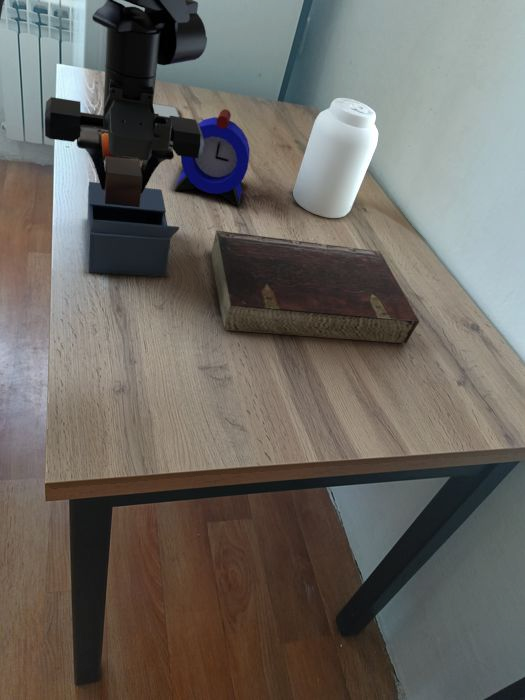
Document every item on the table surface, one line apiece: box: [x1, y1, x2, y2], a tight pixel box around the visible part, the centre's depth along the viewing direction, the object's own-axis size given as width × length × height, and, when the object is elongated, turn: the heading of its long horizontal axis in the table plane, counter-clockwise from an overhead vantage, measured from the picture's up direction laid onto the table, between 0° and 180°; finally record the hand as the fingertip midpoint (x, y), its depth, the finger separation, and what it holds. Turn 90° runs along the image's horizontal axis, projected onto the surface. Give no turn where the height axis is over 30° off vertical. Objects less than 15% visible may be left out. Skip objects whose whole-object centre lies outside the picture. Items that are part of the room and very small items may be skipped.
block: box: [104, 156, 143, 207], centre depth 72 cm, size 4×4×4 cm
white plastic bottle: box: [292, 97, 379, 219], centre depth 104 cm, size 12×12×20 cm
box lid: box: [90, 219, 180, 239], centre depth 71 cm, size 6×11×1 cm
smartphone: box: [153, 102, 181, 117], centre depth 120 cm, size 7×1×15 cm
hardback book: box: [210, 230, 420, 344], centre depth 84 cm, size 29×19×5 cm, turn 99°
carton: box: [86, 181, 171, 277], centre depth 81 cm, size 13×11×7 cm
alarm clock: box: [174, 108, 251, 207], centre depth 100 cm, size 12×12×15 cm
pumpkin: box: [101, 132, 115, 158], centre depth 104 cm, size 8×7×7 cm
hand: (121, 190), depth 73 cm, fingers closed on block, 4 cm apart
